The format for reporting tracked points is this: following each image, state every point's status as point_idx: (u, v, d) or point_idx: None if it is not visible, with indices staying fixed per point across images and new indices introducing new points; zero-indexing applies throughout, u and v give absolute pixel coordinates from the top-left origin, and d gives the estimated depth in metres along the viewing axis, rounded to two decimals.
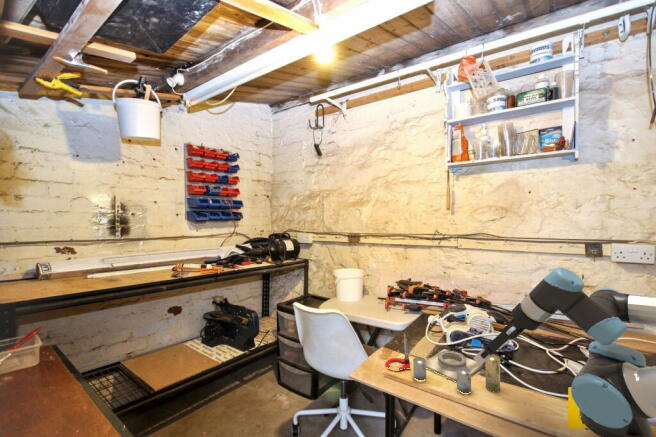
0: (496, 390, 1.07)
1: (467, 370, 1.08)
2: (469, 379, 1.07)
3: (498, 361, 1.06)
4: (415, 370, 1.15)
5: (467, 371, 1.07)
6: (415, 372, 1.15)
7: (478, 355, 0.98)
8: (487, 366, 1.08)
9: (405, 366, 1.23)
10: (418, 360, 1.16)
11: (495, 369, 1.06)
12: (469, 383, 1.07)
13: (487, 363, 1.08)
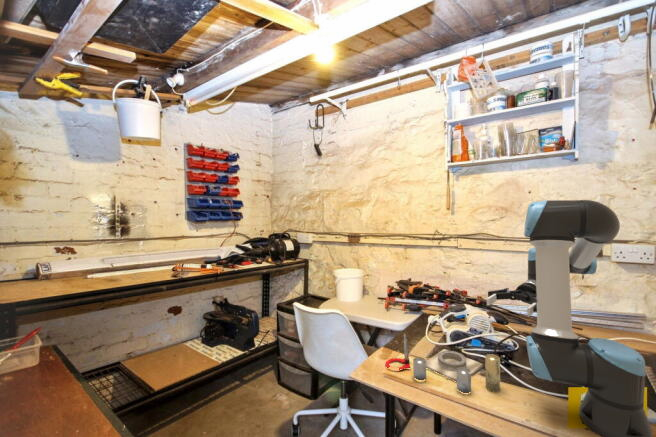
0: (496, 390, 1.07)
1: (467, 370, 1.08)
2: (469, 379, 1.06)
3: (498, 361, 1.06)
4: (415, 370, 1.15)
5: (467, 371, 1.07)
6: (415, 372, 1.15)
7: None
8: (487, 366, 1.08)
9: (405, 366, 1.23)
10: (418, 360, 1.16)
11: (495, 369, 1.06)
12: (469, 383, 1.07)
13: (487, 363, 1.08)
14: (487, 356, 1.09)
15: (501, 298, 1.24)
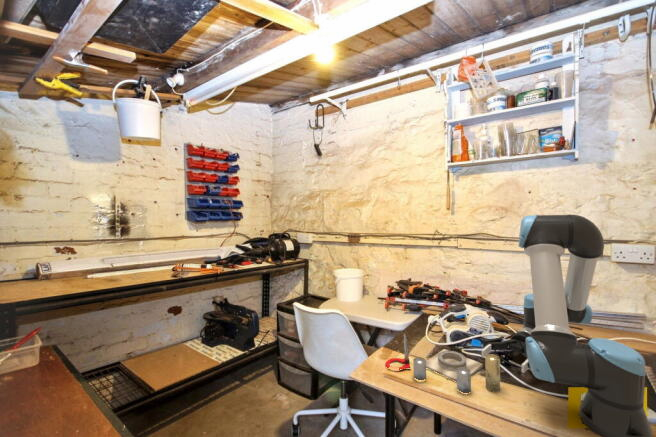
0: (496, 390, 1.07)
1: (467, 370, 1.08)
2: (469, 379, 1.07)
3: (498, 361, 1.06)
4: (415, 370, 1.15)
5: (467, 371, 1.07)
6: (415, 372, 1.15)
7: None
8: (487, 366, 1.08)
9: (405, 366, 1.23)
10: (418, 360, 1.16)
11: (495, 369, 1.06)
12: (469, 383, 1.07)
13: (487, 363, 1.08)
14: (487, 356, 1.09)
15: (496, 348, 1.24)
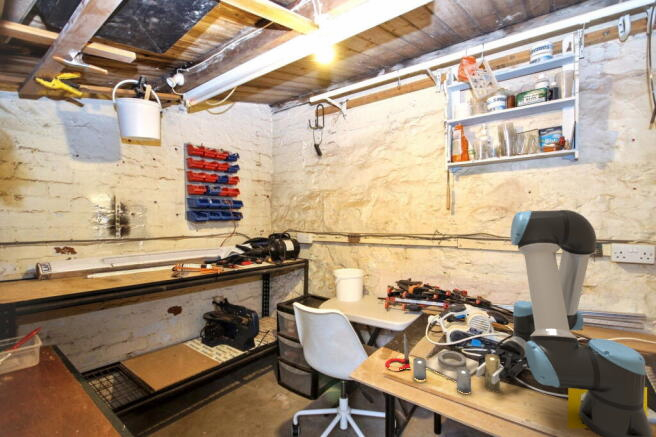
0: (496, 390, 1.07)
1: (467, 370, 1.08)
2: (469, 379, 1.07)
3: (498, 361, 1.06)
4: (415, 370, 1.15)
5: (467, 371, 1.08)
6: (415, 372, 1.15)
7: None
8: (487, 366, 1.08)
9: (405, 366, 1.23)
10: (418, 360, 1.16)
11: (495, 369, 1.06)
12: (469, 383, 1.07)
13: (487, 363, 1.08)
14: (487, 356, 1.09)
15: None
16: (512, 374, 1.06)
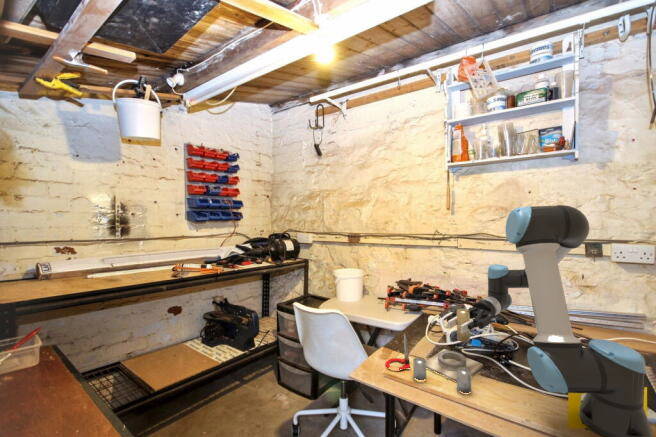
0: (466, 340, 1.17)
1: (467, 370, 1.08)
2: (469, 379, 1.06)
3: (467, 313, 1.16)
4: (415, 370, 1.15)
5: (468, 372, 1.07)
6: (415, 372, 1.15)
7: None
8: (458, 319, 1.17)
9: (405, 366, 1.23)
10: (418, 360, 1.16)
11: (465, 321, 1.16)
12: (469, 383, 1.06)
13: (458, 316, 1.17)
14: (458, 310, 1.18)
15: None
16: (480, 325, 1.15)
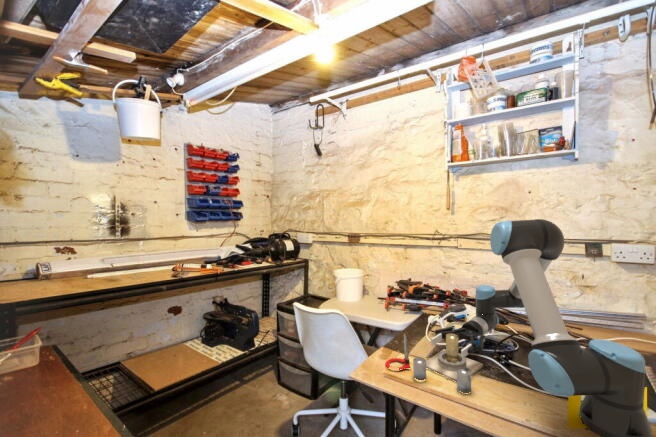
0: None
1: (468, 370, 1.08)
2: (469, 379, 1.06)
3: (456, 339, 1.20)
4: (415, 370, 1.15)
5: (468, 371, 1.07)
6: (415, 372, 1.15)
7: None
8: (447, 343, 1.21)
9: (405, 366, 1.23)
10: (418, 360, 1.16)
11: (454, 346, 1.20)
12: (469, 383, 1.07)
13: (447, 341, 1.21)
14: (447, 335, 1.23)
15: None
16: (480, 349, 1.17)
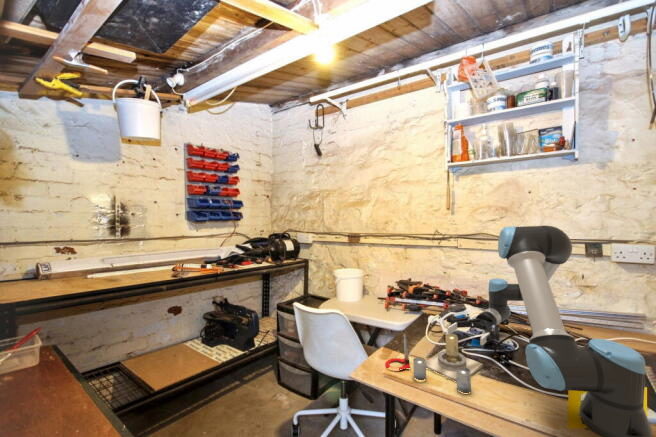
0: None
1: (467, 370, 1.08)
2: (468, 379, 1.06)
3: (456, 339, 1.20)
4: (415, 370, 1.15)
5: (467, 371, 1.07)
6: (415, 372, 1.15)
7: None
8: (447, 344, 1.21)
9: (405, 366, 1.23)
10: (418, 360, 1.16)
11: (453, 346, 1.20)
12: (468, 383, 1.07)
13: (446, 341, 1.21)
14: (447, 335, 1.22)
15: (462, 326, 1.38)
16: (498, 337, 1.25)
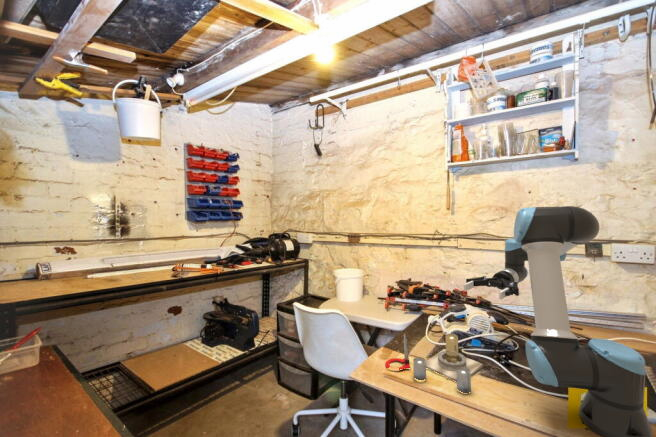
0: None
1: (467, 370, 1.08)
2: (467, 379, 1.06)
3: (456, 339, 1.20)
4: (415, 370, 1.15)
5: (467, 371, 1.07)
6: (415, 372, 1.15)
7: None
8: (447, 344, 1.21)
9: (405, 366, 1.23)
10: (418, 360, 1.16)
11: (453, 346, 1.20)
12: (468, 383, 1.07)
13: (447, 341, 1.21)
14: (447, 335, 1.22)
15: (478, 285, 1.33)
16: (517, 292, 1.20)
